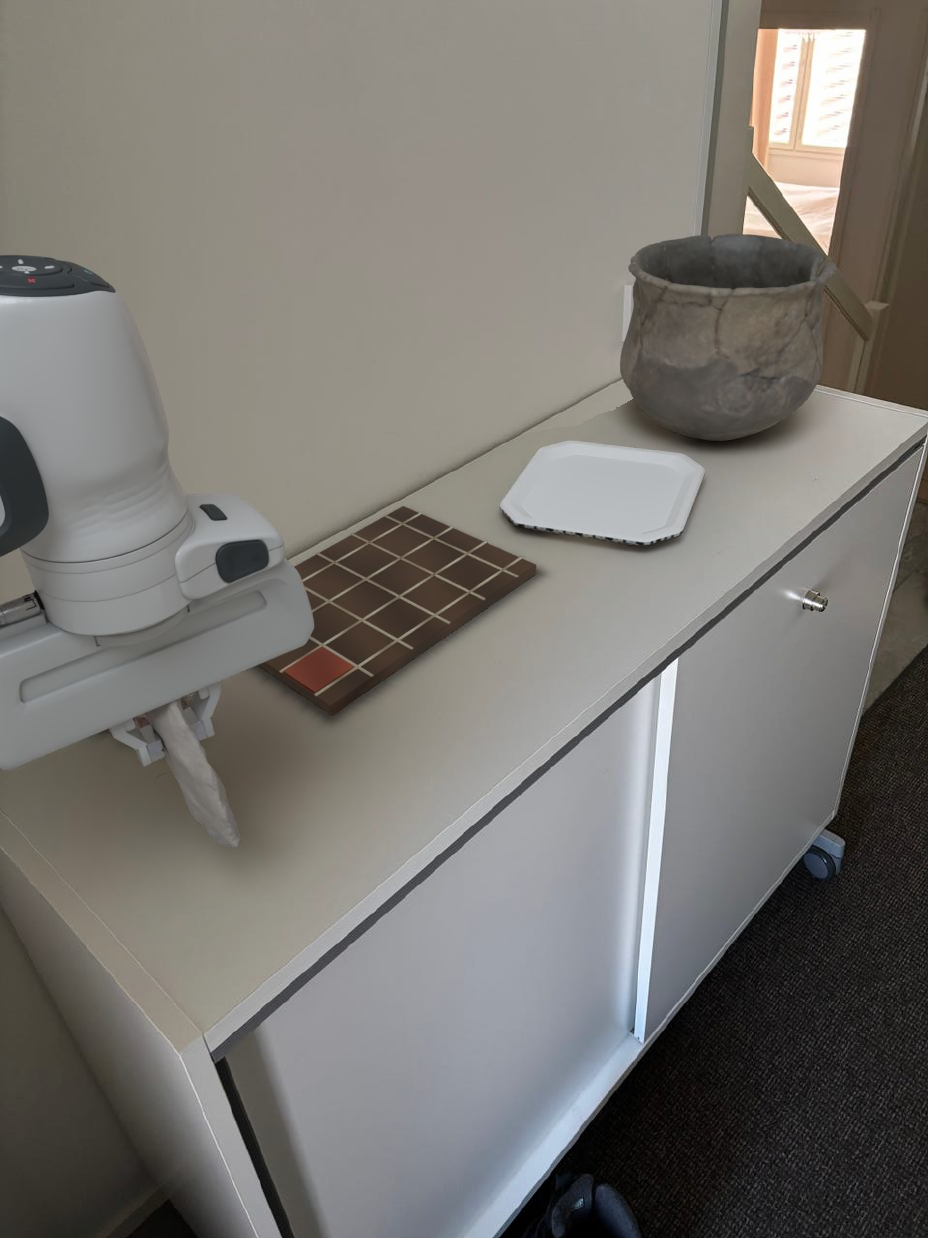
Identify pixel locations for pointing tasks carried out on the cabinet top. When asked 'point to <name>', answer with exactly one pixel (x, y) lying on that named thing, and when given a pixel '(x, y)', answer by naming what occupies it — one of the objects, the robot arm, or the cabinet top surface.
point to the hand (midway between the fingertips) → (176, 745)
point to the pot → (724, 332)
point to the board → (390, 602)
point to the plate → (605, 492)
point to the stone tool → (194, 773)
